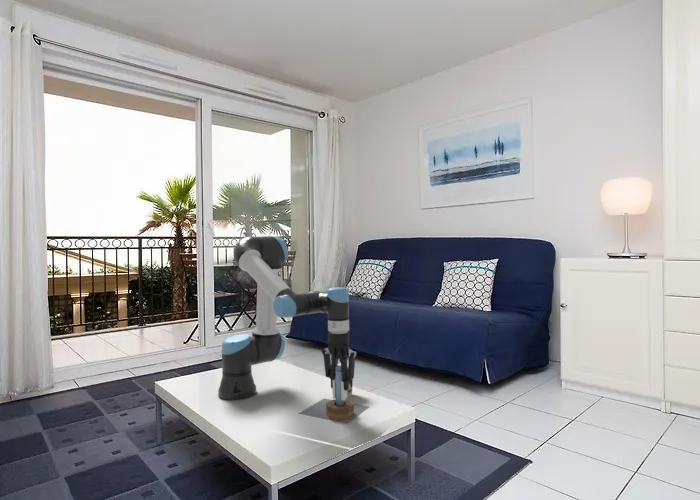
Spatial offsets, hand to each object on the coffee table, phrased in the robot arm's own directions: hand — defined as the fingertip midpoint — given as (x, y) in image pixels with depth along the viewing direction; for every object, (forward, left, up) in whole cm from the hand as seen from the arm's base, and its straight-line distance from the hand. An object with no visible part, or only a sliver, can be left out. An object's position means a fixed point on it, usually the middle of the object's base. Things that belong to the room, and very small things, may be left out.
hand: (340, 398), depth 154 cm
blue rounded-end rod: (0, 0, -5) cm, 5 cm away
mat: (-4, +3, -6) cm, 8 cm away
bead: (0, 0, -6) cm, 6 cm away
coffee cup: (-10, +19, -7) cm, 23 cm away
